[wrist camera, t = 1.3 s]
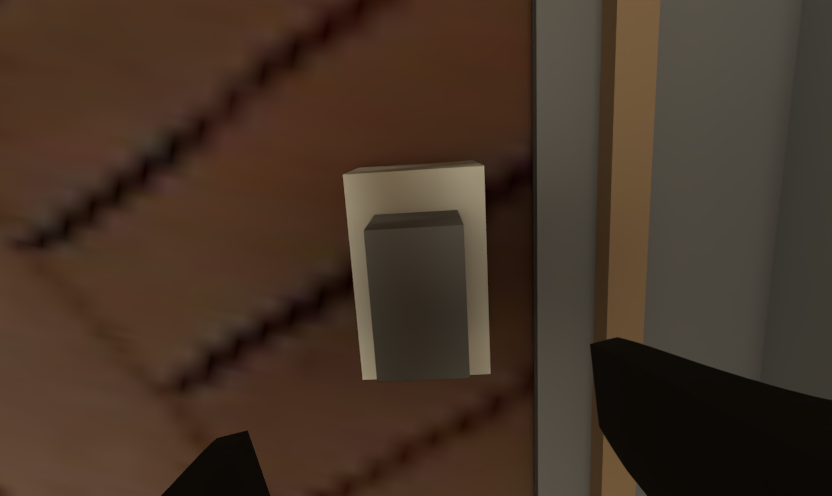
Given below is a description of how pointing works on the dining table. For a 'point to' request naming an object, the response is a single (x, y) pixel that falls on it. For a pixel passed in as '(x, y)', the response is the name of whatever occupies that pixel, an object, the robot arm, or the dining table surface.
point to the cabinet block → (419, 269)
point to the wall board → (676, 204)
